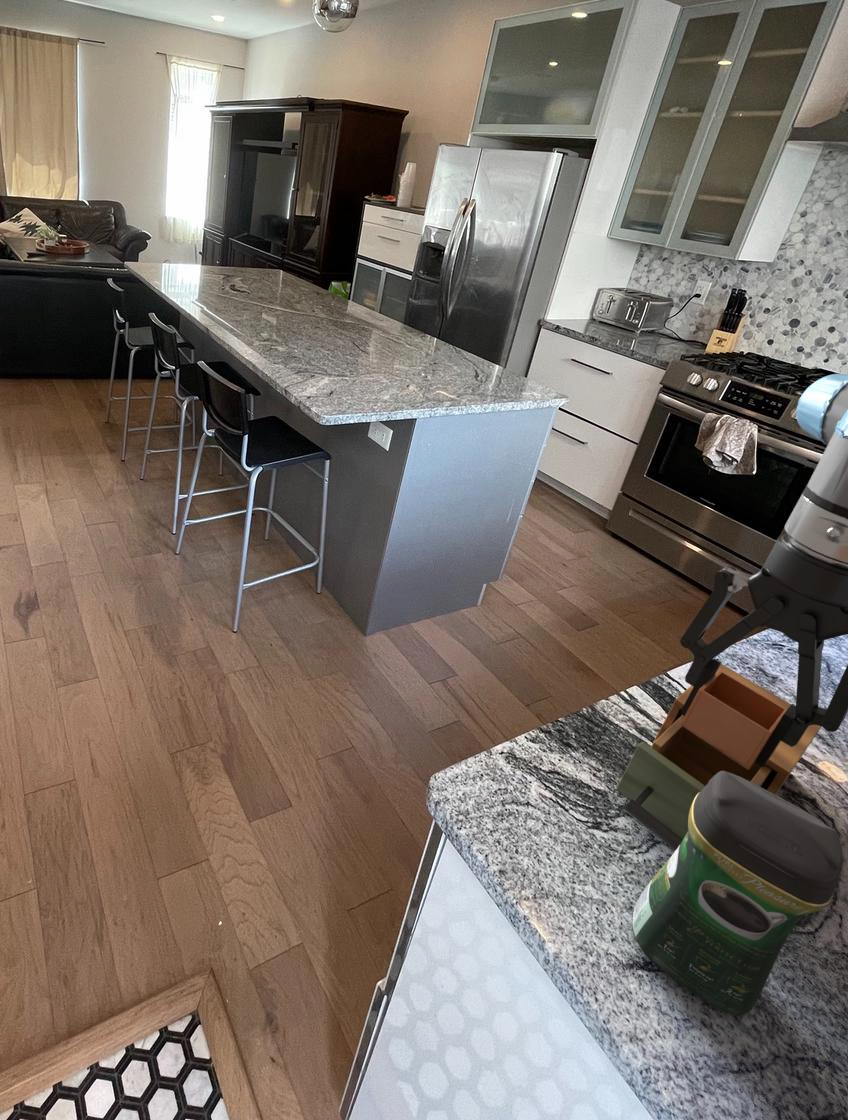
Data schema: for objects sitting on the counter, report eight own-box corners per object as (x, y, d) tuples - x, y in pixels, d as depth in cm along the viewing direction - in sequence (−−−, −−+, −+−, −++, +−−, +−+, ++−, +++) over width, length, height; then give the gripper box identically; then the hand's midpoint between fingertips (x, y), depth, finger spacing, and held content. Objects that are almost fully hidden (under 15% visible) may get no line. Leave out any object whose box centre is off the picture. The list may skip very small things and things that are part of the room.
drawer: (697, 895, 61) (727, 849, 58) (594, 809, 68) (617, 765, 65) (756, 810, 71) (784, 767, 68) (662, 743, 78) (683, 702, 76)
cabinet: (754, 827, 70) (789, 772, 67) (648, 751, 78) (675, 699, 75) (790, 773, 78) (823, 722, 75) (691, 710, 86) (717, 661, 83)
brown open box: (748, 770, 63) (770, 733, 61) (680, 724, 67) (699, 689, 65) (767, 745, 66) (789, 710, 65) (701, 703, 71) (720, 669, 69)
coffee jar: (752, 959, 57) (856, 819, 50) (747, 1040, 51) (863, 894, 44) (637, 882, 62) (715, 745, 55) (620, 947, 56) (705, 803, 49)
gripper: (701, 509, 62) (618, 686, 71) (969, 624, 49) (825, 825, 58) (728, 496, 67) (646, 663, 76) (981, 598, 53) (845, 788, 62)
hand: (724, 733), depth 67 cm, fingers closed on brown open box, 6 cm apart
